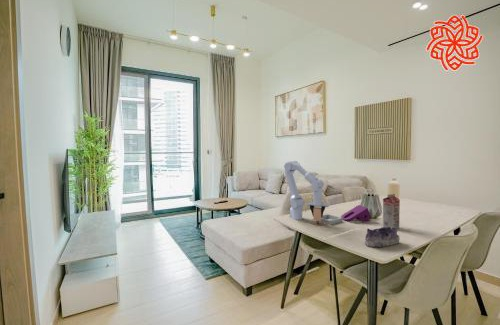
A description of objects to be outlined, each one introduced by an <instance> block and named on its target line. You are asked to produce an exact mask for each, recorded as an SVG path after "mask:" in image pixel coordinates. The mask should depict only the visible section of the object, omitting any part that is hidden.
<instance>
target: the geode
mask: <svg viewBox="0 0 500 325" xmlns="http://www.w3.org/2000/svg"><path fill="white" fill-rule="evenodd" d="M400 240H401V239H400V235H399V234H398V229H395V228H392V229H391V228H390V227H383V226H382V227H380V228H374V229H370V228H367V230H366V235H365V239H364V245H366V247H367V248H375V249H380V248H384V247H389V246H394V245H397V244H400Z"/></svg>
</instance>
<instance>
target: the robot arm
mask: <svg viewBox="0 0 500 325" xmlns="http://www.w3.org/2000/svg"><path fill="white" fill-rule="evenodd" d="M283 168H284V174H285V178H286V182H287V186H288V188H289V192H290V198H289V204H290V208H289V217H288V219H293V220H297V221H300V220H303V208H304V205H305V200H304V199H303V197H302V195H301V194H299V191H298V187H297V184H296V181H295V177H294V173H295V171H297V172H299V173H300V174H301V175H302V176H304V179H305V180H306V181H307V182H308V183H309V184H310V185H311V188H312V190H313V191H312V192H313V193H312V194H313V195H312V198H313V199H312V200H313V201H312V202H306V206H307V207H309V209H310V211H311V215H312V216H313V209H314V207H320V208H321V217H323V215H324V211H325V209H326V208H329V206H330V204H329V203H324V202H323V193H322V192H323V187H324V181H323V180H322V179H319V178H318V177H316V176H315V175H314V173H313V172H308V171H307V170H306V169H305V168H303V167H302V165H301V164H300V162H298V161H297V160H294V161H286V162H285V163H284V165H283Z"/></svg>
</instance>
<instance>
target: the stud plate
mask: <svg viewBox="0 0 500 325" xmlns="http://www.w3.org/2000/svg"><path fill="white" fill-rule="evenodd" d="M309 224H310V225H313V226H315V227H322V226H325V225H327V224H326V223H324V222H321V221H316V220H313V221H311V222H310V221H309Z"/></svg>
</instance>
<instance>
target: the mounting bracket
mask: <svg viewBox="0 0 500 325" xmlns="http://www.w3.org/2000/svg"><path fill="white" fill-rule="evenodd" d="M340 218H342V222H343V221H344V222H346V223H349V222H352V221H354V220H360V221H361V222H363V223H365V222H366V223H367V222H369V221H370V219H371V213H370V210H369V209H368V207H366V206H362V204H361V205H360V204H358V205H356V206H354V207H353V208H351V209H350V210H348V211H347V212H344V213H342V215H341V216H340Z"/></svg>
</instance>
